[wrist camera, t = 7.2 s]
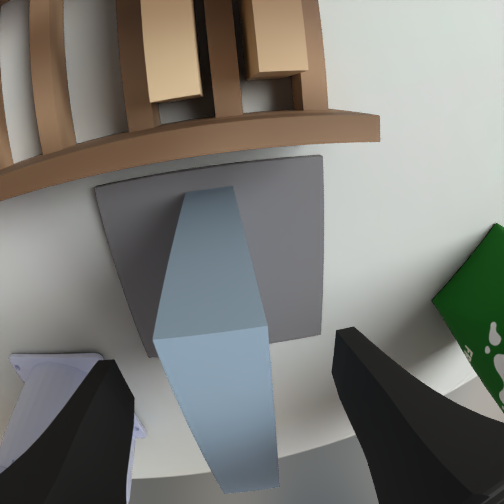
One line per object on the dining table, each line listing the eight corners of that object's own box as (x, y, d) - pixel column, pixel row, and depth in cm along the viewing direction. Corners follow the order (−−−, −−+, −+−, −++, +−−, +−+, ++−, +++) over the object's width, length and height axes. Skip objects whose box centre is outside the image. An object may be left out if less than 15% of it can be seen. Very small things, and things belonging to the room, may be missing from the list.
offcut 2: (281, 78, 12) (308, 70, 8) (245, 80, 12) (259, 71, 8) (268, -40, 9) (287, -81, 6) (233, -39, 9) (241, -83, 6)
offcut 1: (203, 96, 12) (200, 94, 8) (167, 102, 12) (149, 102, 8) (190, -43, 9) (184, -87, 5) (155, -38, 9) (139, -78, 5)
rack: (325, 126, 13) (380, 141, 8) (-1, 185, 12) (-62, 223, 7) (301, -73, 8) (337, -126, 4) (-17, 4, 7) (-76, -8, 3)
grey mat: (318, 330, 18) (320, 334, 18) (149, 352, 17) (148, 357, 17) (319, 154, 14) (322, 156, 13) (97, 185, 13) (94, 188, 12)
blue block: (250, 331, 17) (279, 486, 9) (213, 336, 17) (224, 493, 9) (232, 185, 13) (268, 325, 5) (185, 192, 13) (152, 339, 5)
